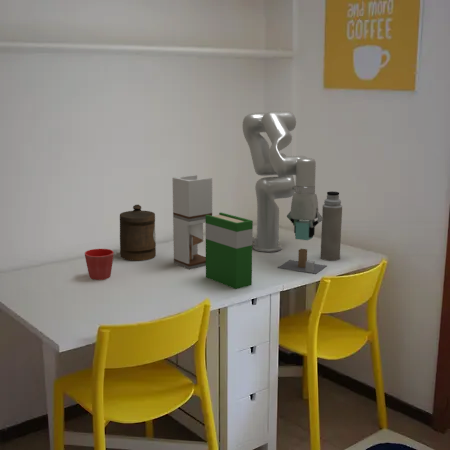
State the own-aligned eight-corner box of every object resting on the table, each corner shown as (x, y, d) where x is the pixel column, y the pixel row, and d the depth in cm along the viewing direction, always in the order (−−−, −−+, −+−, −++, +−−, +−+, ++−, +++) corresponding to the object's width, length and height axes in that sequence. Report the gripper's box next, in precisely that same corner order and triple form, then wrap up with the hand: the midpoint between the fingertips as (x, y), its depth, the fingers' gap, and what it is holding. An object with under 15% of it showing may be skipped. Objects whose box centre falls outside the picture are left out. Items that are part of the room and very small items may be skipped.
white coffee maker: (189, 269, 246) (188, 181, 238) (173, 263, 254) (172, 177, 246) (212, 264, 253) (212, 178, 245) (196, 258, 261) (195, 174, 253)
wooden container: (163, 255, 265) (162, 204, 260) (136, 263, 254) (134, 210, 249) (140, 249, 275) (138, 200, 270) (113, 256, 264) (111, 205, 259)
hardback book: (205, 277, 237) (205, 215, 231) (220, 273, 241) (221, 212, 236) (236, 289, 224) (236, 223, 218) (251, 285, 228) (252, 220, 223)
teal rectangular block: (295, 238, 246) (295, 222, 244) (300, 236, 250) (300, 220, 249) (307, 240, 243) (308, 223, 242) (312, 237, 247) (313, 221, 246)
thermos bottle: (320, 255, 267) (322, 190, 261) (339, 255, 266) (342, 190, 260) (320, 260, 259) (323, 193, 253) (340, 260, 259) (343, 193, 252)
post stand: (277, 268, 249) (278, 250, 247) (289, 260, 259) (290, 243, 257) (315, 274, 241) (316, 256, 239) (326, 266, 251) (327, 249, 250)
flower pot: (120, 275, 239) (119, 250, 236) (101, 283, 229) (100, 257, 227) (99, 271, 244) (98, 246, 242) (79, 278, 235) (78, 253, 232)
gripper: (280, 190, 244) (280, 235, 247) (322, 193, 235) (321, 240, 239) (288, 187, 250) (288, 232, 254) (329, 190, 242) (328, 236, 245)
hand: (304, 235), depth 246 cm, fingers closed on teal rectangular block, 5 cm apart
